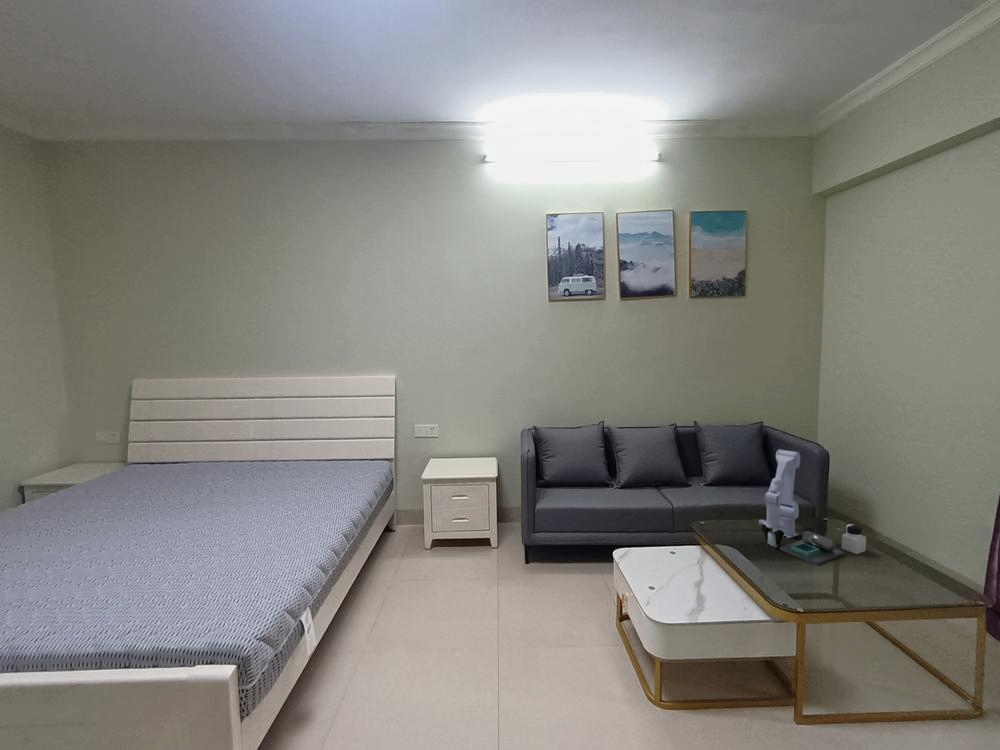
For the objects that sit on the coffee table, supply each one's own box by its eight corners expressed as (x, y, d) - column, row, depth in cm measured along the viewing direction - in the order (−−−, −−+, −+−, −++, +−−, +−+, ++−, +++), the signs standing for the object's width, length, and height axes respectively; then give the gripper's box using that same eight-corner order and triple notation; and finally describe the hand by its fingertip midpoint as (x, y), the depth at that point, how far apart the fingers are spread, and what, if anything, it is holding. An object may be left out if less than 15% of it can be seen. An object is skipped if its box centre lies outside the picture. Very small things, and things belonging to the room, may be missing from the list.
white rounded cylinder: (765, 544, 248) (765, 532, 248) (772, 542, 250) (772, 529, 250) (774, 548, 244) (774, 535, 243) (780, 546, 246) (781, 533, 245)
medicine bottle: (866, 551, 237) (866, 526, 236) (857, 554, 234) (857, 529, 233) (850, 545, 243) (850, 521, 242) (841, 548, 240) (841, 524, 239)
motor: (779, 550, 242) (779, 535, 241) (806, 540, 250) (806, 527, 250) (816, 565, 226) (816, 550, 225) (844, 555, 234) (844, 540, 233)
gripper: (754, 512, 251) (754, 538, 252) (781, 522, 238) (781, 549, 239) (764, 510, 254) (764, 535, 255) (791, 519, 241) (791, 546, 242)
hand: (773, 542), depth 247 cm, fingers closed on white rounded cylinder, 5 cm apart
